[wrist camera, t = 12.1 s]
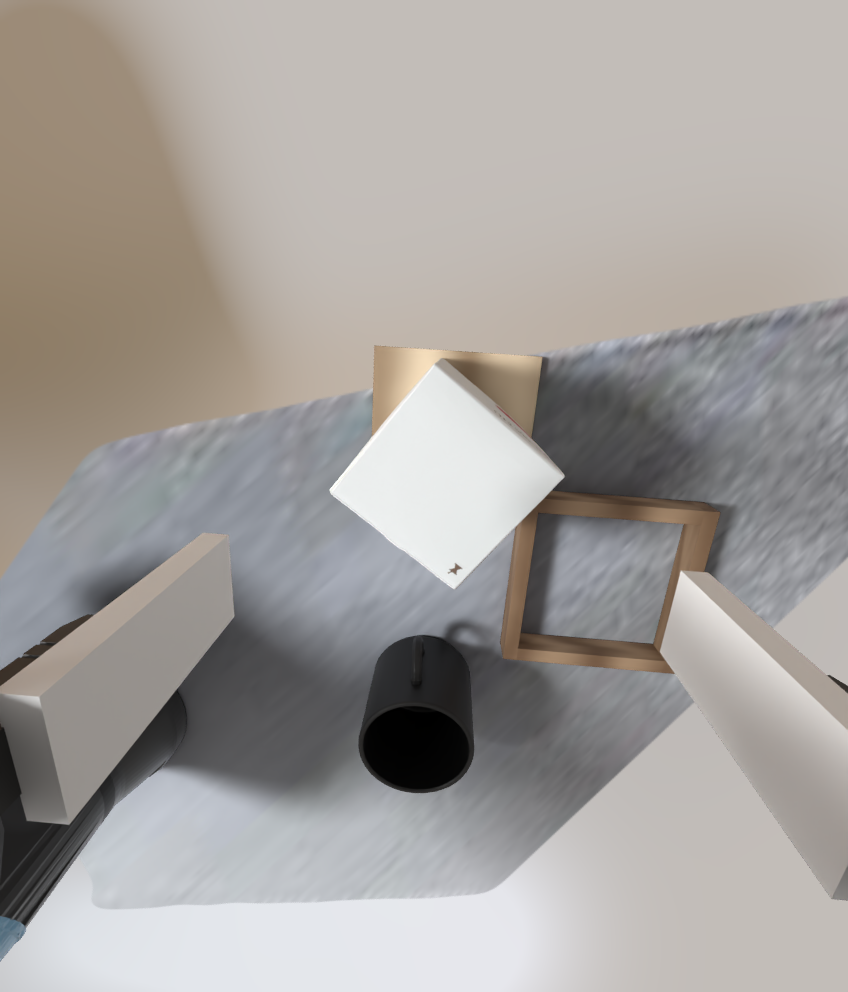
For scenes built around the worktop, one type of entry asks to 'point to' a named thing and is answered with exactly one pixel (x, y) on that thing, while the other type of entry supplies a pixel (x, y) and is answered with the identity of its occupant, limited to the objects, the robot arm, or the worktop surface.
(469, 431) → the supplement box
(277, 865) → the worktop surface
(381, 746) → the mug
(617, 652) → the walnut frame
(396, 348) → the light wooden block
